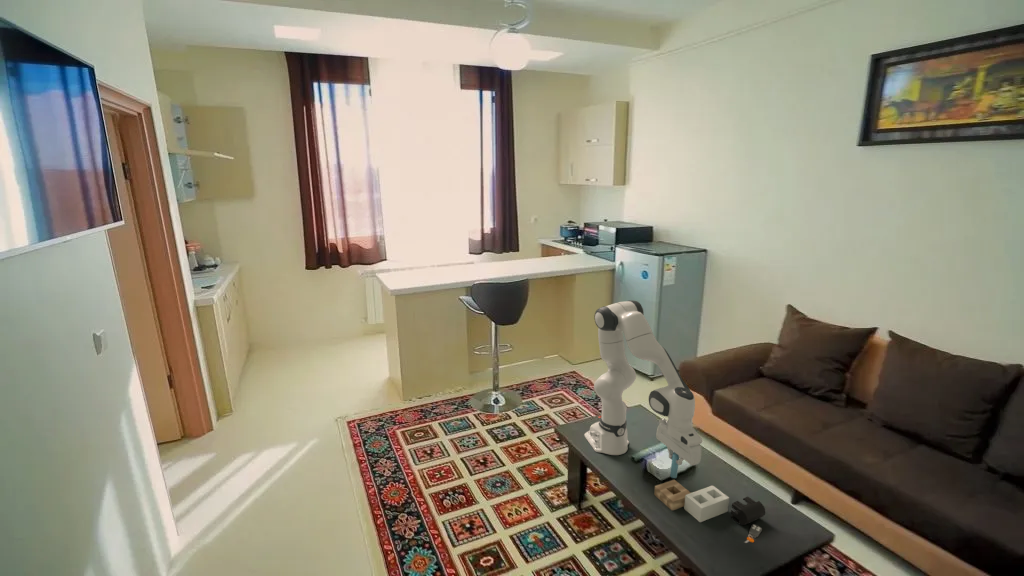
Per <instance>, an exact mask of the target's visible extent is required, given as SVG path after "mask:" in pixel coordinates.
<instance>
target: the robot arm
mask: <svg viewBox="0 0 1024 576" xmlns="http://www.w3.org/2000/svg"><path fill="white" fill-rule="evenodd" d="M593 316H594V317H593V319H594V322H595V326H596V327H597V328H598V329H597V335H598V336H597V337H598V347H599V355H600V358H601V360H602V361H604V362H605V363H606V366H607V371H606V372H604V373H603V374H601V375H600V376H599V377H598V378H597V379H596V380H595V381H594V384H593V390H594V392H595V394H596V395H597V396H598V397H599V398H600V402H601V415H598V418H597V419H598V420H599V421H596V422H594V423H592V424H591V426H590V427H589V430H588V431H586V432H585V433H584V435H583V436H584V438H585V439H586V440H587V441H588V442H587V443H589V444H590V447H592V449H593V450H594V451H595V452H596V453H602V454H606V455H611V456H619V455H623V454H625V453H626V452H627V451H628V445H630V441H629V440H628V428H627V426H628V425H627V404H626V402H625V401H624V400H623V397H622V396H623V393H624V392H625V391H626V390H627V389H629V388H631V386H632V385H633V384H634V383H635V382H636V379H637V373H636V371H635V369H634V367H632V365H630V363H629V361H628V359H627V356H626V350H625V342H624V338H625V341H626V344H627V346H628V350H629V351H630V353H631V354H632V356H634V357H636V358H637V359H639V360H643V361H648V362H652V363H653V364H655V365H656V366H658V368H659V369H660V371H661V373H662V375H663V377H664V378H665V381H666V382H667V386H663V387H659V388H656V389H653V390H651V392H650V393H649V395H648V405H649V407H650V409H651V410H652V411H653V412H655V413H656V414H658V415H660V416H661V417H662V416H663V417H667V419H665V418H660V419H659V421H658V425H657V429H656V433H655V437H656V439H657V440H658V441H659V442H661V443H662V444H663V445H665V446H666V447H667V448H666V450H667V452H668V458H669V459H671V460H672V456H673V452H675V453H676V454H677V455H679V459H676V463H677V464H678V466H682V464H683V462H684V461H685V462H687V463H688V464H689V465H690V466H696V465H699V464H700V463H701V459H702V446H701V444H702V443H703V438H702V437H701V435H699V433H698V432H697V431H696V429H695V428H694V427H693V425H694V423H693V418H694V416H695V409H696V408H695V407H696V399H695V395H694V393H693V391H692V390H691V389H690V388H689V386H688V385H687V384H686V382H685V381H684V380H683V378H682V376H681V375H680V373H679V370H678V368H677V367H676V365H675V363H674V362H673V360H672V358H671V355H670V353H668V351H667V350H666V349H665V348H664V347H663V346H662V345H661V344H660V343H659V342H658V340H657V339H656V336H655V335H654V332H653V330H652V328H651V325H650V324H649V322H648V320H647V318H646V317H645V315H644V308H643V306H642V304H641V303H640V302H639V301H638V300H632V299H631V300H624V301H619V302H614V303H612V304H609V305H606V306H601V307H599V308H597V309H596V311H595V312H594V315H593Z"/></svg>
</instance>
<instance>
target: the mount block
mask: <svg viewBox="0 0 1024 576" xmlns="http://www.w3.org/2000/svg"><path fill="white" fill-rule="evenodd" d="M690 493H691V492H690V490H688V489H687V488H685V487H684V486H683V485H682V484H681V483H680V482H678V481H677V480H675V479H672V480H669V481H665V482H664V483H660V484H656V485H654V494H653V495H654V496H655V497H656V498H657V499H659V501H660V502H662V503H663V504H664V505H665V506H666V507H667V508H668V509H669V510H671V511H676V510H678V509H681V508H684V505H685V495H687V494H690Z"/></svg>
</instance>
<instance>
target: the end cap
mask: <svg viewBox="0 0 1024 576" xmlns="http://www.w3.org/2000/svg"><path fill="white" fill-rule="evenodd" d="M742 500H743V501H744V502H746V504H743V503H741V502H740V501H739V500H737V501H734V502H732V504H731V508H732V509H733V510H730V514H731V516H730V518H731V519H732V520H733V521H735V522H736V523H737V524H738V525H740V526H746V525H748V524H750V523H753V522H754V521H756V520H759V519H762V518H763V517H765V515H766V507H765V506H764V504H763V503H762V502H760V500H758V501H755V500H754V499H752V498H751V497H750V496H746V497H743V498H742Z"/></svg>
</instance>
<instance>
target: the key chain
mask: <svg viewBox="0 0 1024 576" xmlns="http://www.w3.org/2000/svg"><path fill="white" fill-rule="evenodd" d="M762 531H763V528H762V526H759V525H758V524H754V523H752V524H751V526H750V528H749V531H748V535H747V537H746V540H745V541H743V543H745V544H747V543H749V542H750V543H754V542H755V539H756V538H758V537H759V536H760V534H761V532H762Z"/></svg>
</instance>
